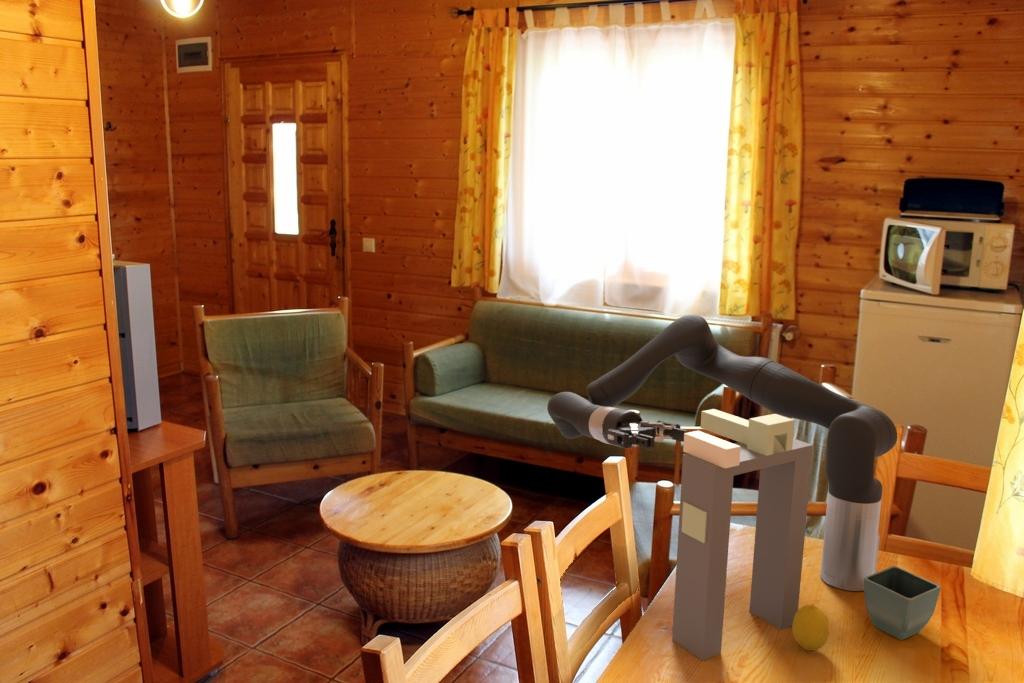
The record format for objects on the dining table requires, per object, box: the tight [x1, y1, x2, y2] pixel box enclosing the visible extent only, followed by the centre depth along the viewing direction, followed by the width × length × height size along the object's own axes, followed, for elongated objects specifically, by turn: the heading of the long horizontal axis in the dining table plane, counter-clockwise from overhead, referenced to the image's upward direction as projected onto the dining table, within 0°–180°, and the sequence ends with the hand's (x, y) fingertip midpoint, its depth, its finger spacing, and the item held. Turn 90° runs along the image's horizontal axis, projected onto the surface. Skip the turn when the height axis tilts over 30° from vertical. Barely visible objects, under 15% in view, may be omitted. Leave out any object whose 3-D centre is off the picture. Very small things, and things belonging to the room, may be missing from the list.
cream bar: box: [682, 430, 741, 468], centre depth 130 cm, size 3×9×3 cm, turn 32°
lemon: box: [791, 604, 830, 652], centre depth 135 cm, size 6×6×8 cm
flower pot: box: [863, 565, 942, 641], centre depth 141 cm, size 9×9×9 cm
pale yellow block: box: [700, 408, 796, 456], centre depth 139 cm, size 6×16×5 cm, turn 32°
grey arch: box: [671, 437, 814, 662], centre depth 138 cm, size 22×7×32 cm, turn 122°
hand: (670, 439), depth 157 cm, fingers open, 8 cm apart
